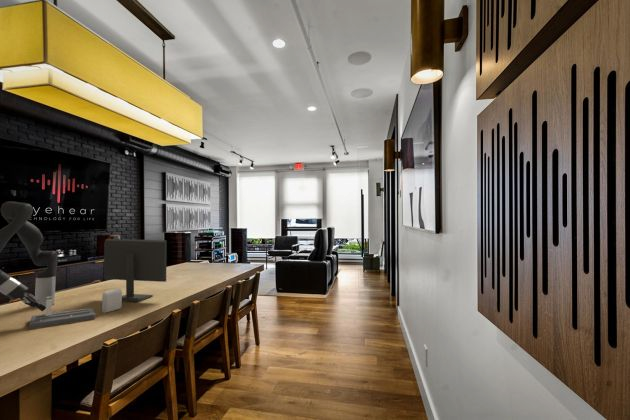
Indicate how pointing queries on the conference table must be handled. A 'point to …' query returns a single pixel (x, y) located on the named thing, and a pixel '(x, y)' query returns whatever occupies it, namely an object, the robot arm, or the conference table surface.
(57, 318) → the grey slider track board
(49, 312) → the fader
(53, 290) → the robot arm
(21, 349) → the conference table surface
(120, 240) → the computer monitor
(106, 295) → the photo printer
